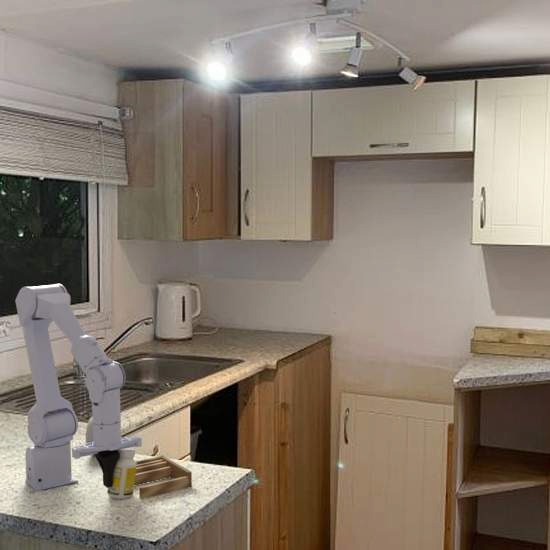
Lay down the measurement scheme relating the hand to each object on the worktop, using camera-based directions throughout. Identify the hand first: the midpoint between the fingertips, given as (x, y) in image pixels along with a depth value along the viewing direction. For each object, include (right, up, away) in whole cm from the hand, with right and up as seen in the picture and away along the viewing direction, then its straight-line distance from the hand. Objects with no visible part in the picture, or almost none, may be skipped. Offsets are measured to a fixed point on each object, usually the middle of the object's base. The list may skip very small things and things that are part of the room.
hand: (108, 485), depth 157 cm
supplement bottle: (+2, -3, +2) cm, 4 cm away
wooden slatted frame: (+8, -2, +9) cm, 12 cm away
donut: (-10, -1, +30) cm, 32 cm away
